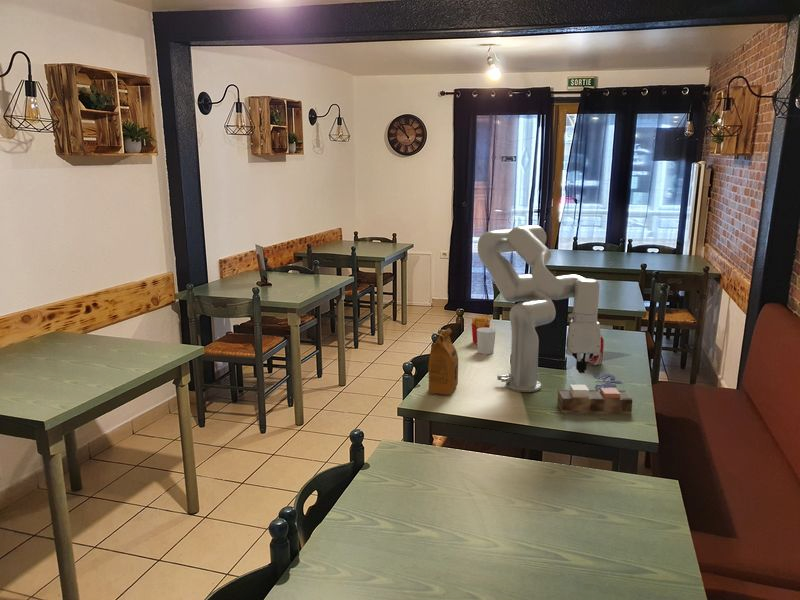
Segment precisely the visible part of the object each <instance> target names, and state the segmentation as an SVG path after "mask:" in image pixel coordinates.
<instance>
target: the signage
mask: <svg viewBox="0 0 800 600" xmlns="http://www.w3.org/2000/svg"><path fill="white" fill-rule="evenodd" d="M608 376H610V377H608ZM593 377H594V379H596V378H598V377H599V378H598V379H596V380H599V379H600V378H602V379H605V378H606V379H608V378H609V380H610V381H609V380H608V381H605V380H606V379H605V380H604V382H603V383H601V384H602V385H597V384H595V386H594V389H595V388H596V389H595V390H600V388H617V385H616V384H620V383H622V381H621V380H616V377H615V375H613V374H609V373H606V374H603V375H601V376H600V373H596V372H594V375H593ZM603 377H605V378H603ZM605 382H606V383H605ZM610 382H612V383H610ZM604 383H605V384H604ZM622 384H623V383H622ZM598 386H604V387H598ZM606 386H608V387H606ZM611 386H612V387H611Z"/></svg>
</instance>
